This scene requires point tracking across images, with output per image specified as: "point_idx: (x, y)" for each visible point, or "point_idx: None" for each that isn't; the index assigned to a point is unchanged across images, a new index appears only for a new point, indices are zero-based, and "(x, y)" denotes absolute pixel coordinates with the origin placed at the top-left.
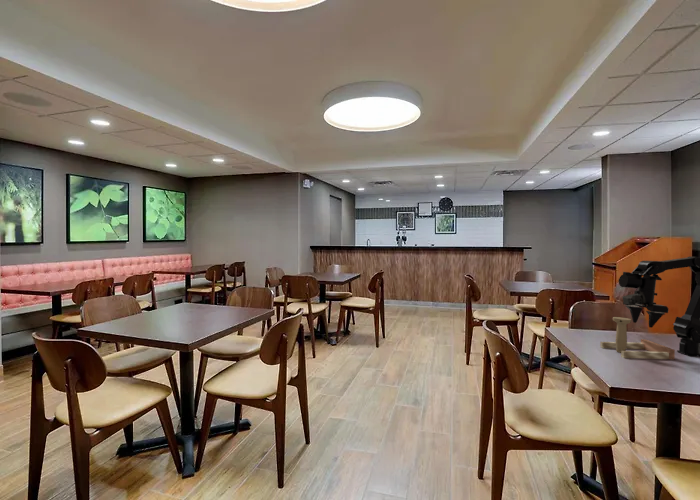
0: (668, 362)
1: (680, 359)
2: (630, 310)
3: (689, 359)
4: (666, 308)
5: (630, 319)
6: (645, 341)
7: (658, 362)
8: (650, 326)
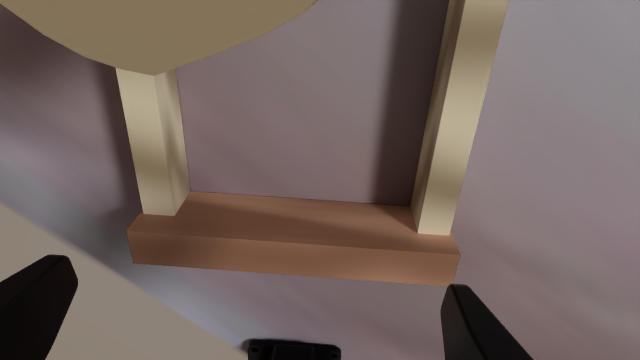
0: (70, 123)
1: None
2: None
3: (185, 297)
4: None
5: (29, 3)
6: (402, 247)
7: (42, 42)
8: (36, 273)
